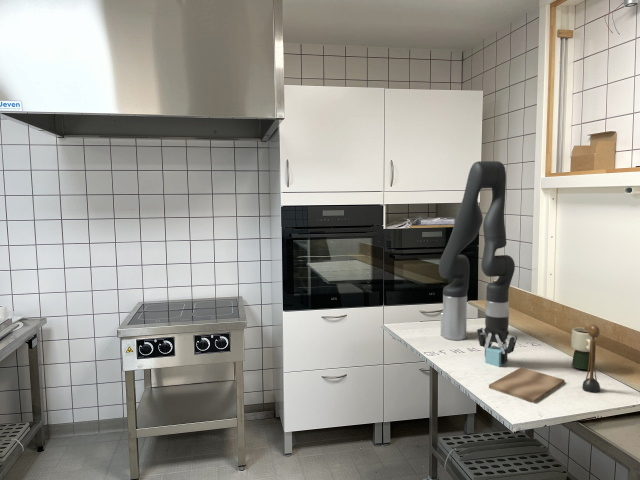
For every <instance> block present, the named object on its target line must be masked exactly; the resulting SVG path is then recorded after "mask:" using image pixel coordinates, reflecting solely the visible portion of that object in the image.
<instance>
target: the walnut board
mask: <svg viewBox="0 0 640 480" xmlns="http://www.w3.org/2000/svg"><path fill="white" fill-rule="evenodd" d="M565 383H566V380H565V379H564V378H561V377H560V378H559V377H556V376H554V375H553V376H552V375H549V374H545V373H542V372H540V371H535V370H532V369H528V368H524V367H522V366H521V367H519V368H517V369H515V370H514V371H512V372H510V373H507V374H506V375H504V376H503V377H501V378H499V379H497V380H495V381H493V382H491V383H489V384H488V389H492V390H494V391H496V392H500V393H503V394H506V395H509V396H512V397H514V398H518V399H521V400H524V401H527V402H529V401H530V402H529V403H532V402H533V403H532V404H536V403H537V402H538V401H539V400H541V399H542V398H544V397H545V396H547V395H548V394H550V393H551V392H553V391H554V390H556V389H558V388H559V387H560V386H562V385H564V384H565Z"/></svg>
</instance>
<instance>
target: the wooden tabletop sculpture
mask: <svg viewBox="0 0 640 480" xmlns="http://www.w3.org/2000/svg"><path fill="white" fill-rule="evenodd" d="M583 328H584V329H585V330H587V331H588V334H589V335H590V336H591V337H592V340H590V357H589V367H588V369H587V374H586V377H585V379H584V380H583V382H582V386H581V387H582V388H581V389H582V391H585V392H587V393H592V394H593V393H594V394H598V393H600V392H601V385H600V382H599V381H598V378H597V373H596V351H597V349H596V347H597V340H595V338H596V339H597V338H598V337H599V336H600V334H601V330H600V328H599V327H598V326H597V325H596V324H594V323H593V324H592V323H591V324H589V325H588V326H584V327H583ZM591 345H592V348H591ZM590 362H591V368H590ZM589 369H590V370H589Z"/></svg>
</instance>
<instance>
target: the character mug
mask: <svg viewBox="0 0 640 480" xmlns="http://www.w3.org/2000/svg"><path fill="white" fill-rule="evenodd" d="M596 339H597V338H595V340H596ZM590 340H592V337H591V336H590V335H589V334H588V331H587V330H585V329H584V327H583V326H582V327H581V326H579V327H578V326H577V327H572V328H571V339H570V347H571V349H572V350H574V351H573V355H572V361H571V366H572V367H573V368H575V369H580V370H584V371H585V370H588V367H589V357H590ZM596 341H597V340H596ZM591 348H592V345H591ZM590 368H591V362H590ZM589 371H590V369H589Z"/></svg>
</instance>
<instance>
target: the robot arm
mask: <svg viewBox="0 0 640 480" xmlns="http://www.w3.org/2000/svg"><path fill="white" fill-rule="evenodd" d="M482 189H491V193H492V194H491V195H492V197H491V203H490V205H489V207H488V210H487V212H486V215H485V217H484V219H483V214H482V210H481V208H480V205H479V200H478V199H479V195H480V192H481V190H482ZM506 189H507V172H506V167H505V165H504V164H503V162H501V161H495V160H494V161H493V160H486V161H485V160H484V161H482V160H480V161H475V162H474V163H473V164H472V165H471V167H470V169H469V172H468V177H467V180H466V184H465V189H464V194H463V196H462V201H461V203H460V204H461V205H460V206H459V210H458V212H457V214H456V218H455V220H454V224H453V228H452V232H451V234H450V237H449V239H448V241H447V244H446V247H445V249H444V251H443V253H442V254H441V257H440V259H439V263H438V272H439V276H440V277H441V278H443V279H446V280H447V279H448V280H453V281H452V282H450V283H449V284H448V285H446V286H444V287H443V289H442V312H441V313H440V336H441V337H443V338H445V339H447V340H452V341H461V340H465V339H467V334H468V333H467V326H468V324H467V323H468V322H467V321H468V316H467V315H468V290H469V286H470V285H469V284H470V283H469V281H470V270H471V269H470V267H471V266H470V261H469V258H468V256H466V255H464V254H461V252H462V251H463V250H464V249H465V248H466V247H467V246H469V245H470V244H471V243H472V242H473V241H474V240H475V239H476V237H477V236H478V235H479V232H480V229H481V227H482V228H483V229H482V230H483V239H484V247H483V253H482V259H481V265H480V266H481V271H482V272H483V274H484V275H485V276H486V277H490V278H492V277H493V278H494V277H498V278H497V279H496V280H495V281H493V282H489V283H488V284H487V285H486V300H485V310H484V311H485V313H484V315H485V316H484V317H485V318H484V321H485V322H484V324H485V325H484V326H485V327H484V328H483V327H481V328H478V329H476V332H477V333H476V334H477V339H478V344H479V346H480V347H483V348H484V356H485V355H486V349H487V348H489V347H491V346H493V343H496V344H498V347H500V349H501V352H502V354H501V364H504V365H505V363H506V364H507V363H508V354H511V353H514V351H515V347H516V344H517V340H518V337H517V336H516V335H512V334H510V332H509V326H510V325H509V318H510V305H509V304H510V303H509V291H510V290H509V289H510V285H511V283H512V280H513V278H514V277H513V276H514V273H515V269H516V266H515V265H516V264H515V261H514V259H513V258H512V256H511V255H508V254H503V255H502V254H501V255H499V254H498V255H496V252H497V250H499V249H503V248H505V247H506V246H507V243H508V242H507V234H506V225H505V224H506V223H505V208H506ZM507 341H508V342H507Z"/></svg>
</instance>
